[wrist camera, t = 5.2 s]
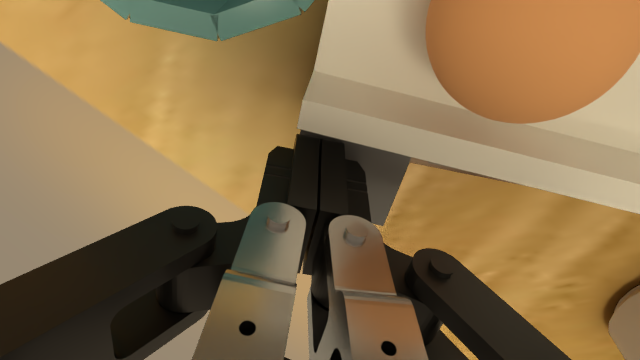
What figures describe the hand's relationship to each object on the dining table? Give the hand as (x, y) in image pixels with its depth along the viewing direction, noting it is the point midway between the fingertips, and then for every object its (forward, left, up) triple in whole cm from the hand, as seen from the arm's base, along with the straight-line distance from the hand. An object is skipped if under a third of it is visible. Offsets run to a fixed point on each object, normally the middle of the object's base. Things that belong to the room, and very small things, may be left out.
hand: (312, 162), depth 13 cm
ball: (-3, -6, +2) cm, 7 cm away
